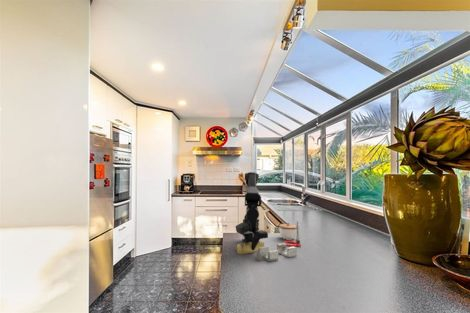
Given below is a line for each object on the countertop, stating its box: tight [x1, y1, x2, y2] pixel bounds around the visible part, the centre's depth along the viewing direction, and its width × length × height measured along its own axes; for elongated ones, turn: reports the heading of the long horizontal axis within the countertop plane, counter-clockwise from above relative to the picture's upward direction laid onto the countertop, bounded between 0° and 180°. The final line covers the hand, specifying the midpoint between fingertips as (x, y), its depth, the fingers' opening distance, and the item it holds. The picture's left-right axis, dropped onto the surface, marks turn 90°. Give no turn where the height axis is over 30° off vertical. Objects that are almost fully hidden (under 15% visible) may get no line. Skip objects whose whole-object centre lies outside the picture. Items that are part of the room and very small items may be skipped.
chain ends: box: [256, 242, 298, 263], centre depth 111 cm, size 8×23×4 cm, turn 124°
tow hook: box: [282, 221, 302, 247], centre depth 131 cm, size 8×13×9 cm
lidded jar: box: [278, 222, 297, 241], centre depth 144 cm, size 11×11×9 cm
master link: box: [236, 239, 265, 255], centre depth 116 cm, size 4×14×5 cm, turn 124°
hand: (250, 249), depth 116 cm, fingers closed on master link, 3 cm apart
